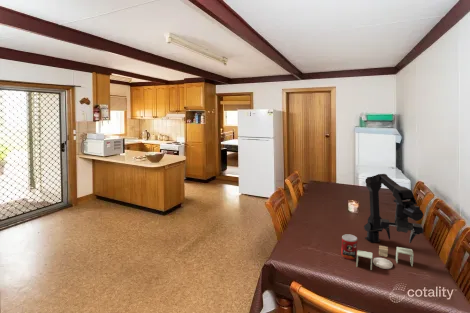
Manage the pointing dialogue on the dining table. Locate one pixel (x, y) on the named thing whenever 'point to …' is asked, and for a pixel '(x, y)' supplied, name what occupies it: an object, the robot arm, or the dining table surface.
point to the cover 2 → (404, 251)
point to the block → (383, 251)
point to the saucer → (382, 263)
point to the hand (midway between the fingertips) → (399, 240)
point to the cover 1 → (364, 254)
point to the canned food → (349, 246)
